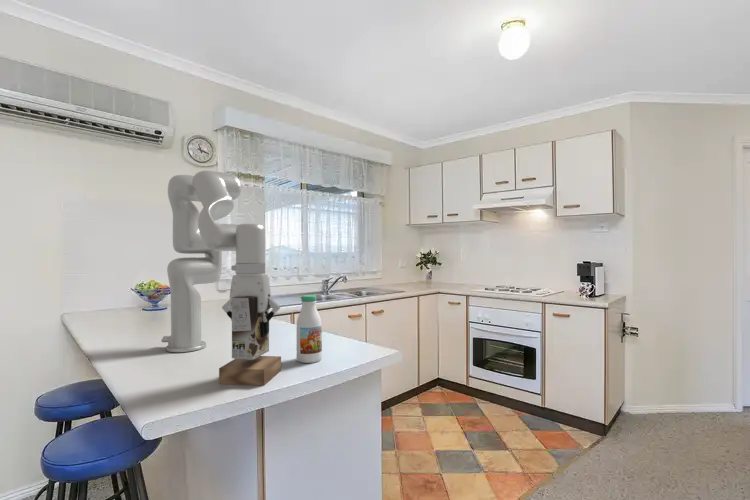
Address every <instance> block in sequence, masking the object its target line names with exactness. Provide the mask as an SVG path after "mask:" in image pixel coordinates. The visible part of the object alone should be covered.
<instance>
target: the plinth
mask: <svg viewBox="0 0 750 500" xmlns="http://www.w3.org/2000/svg"><path fill="white" fill-rule="evenodd" d="M281 371H282V356H279V355H278V356H274V355H273V356H272V355H261V356H259V357H257V358H255V359H253V360H247V359H232V360H230V361H228V362H227V363H225V364H224V365H222V366H220V367H219V368H218V376H219V377H218V382H219V383H218V384H219V385H239V386H240V385H242V386H244V385H245V386H265V385H267V384H268V383H270V381H271V380H272V379H274V378H275V376H277V375H278V374H279V373H280V372H281Z"/></svg>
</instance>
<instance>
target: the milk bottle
mask: <svg viewBox="0 0 750 500" xmlns="http://www.w3.org/2000/svg"><path fill="white" fill-rule="evenodd" d="M300 299H301V305H302V306H301V309H300V312H299V314H298V315H297V320H296V338H295V339H296V361H297V362H298V363H303V364H304V363H305V364H312V363H318V362H319V361H321V360H322V359H323V348H322V347H323V339H322V337H323V335H322V333H323V331H322V319H321V315H320V314H319V312H318V309H317V305H316V303H317V295H315V294H303V295H302V296H301V298H300Z"/></svg>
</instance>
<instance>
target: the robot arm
mask: <svg viewBox="0 0 750 500" xmlns="http://www.w3.org/2000/svg"><path fill="white" fill-rule="evenodd" d="M241 193H242V184H241V182H240V180H239V178H238V177H237V176H236V175H235V174H233V173H228V172H220V171H214V170H201V171H198V172H196V173H195V174H194V175H191V174H177V175H173V176H172V177H171V178H170V179H169V181H168V185H167V197H168V201H169V204H170V207H171V211H172V247H173V249H174V251H175V252H176V253H179V254H187V255H188V254H189V255H190V254H194V255H195V254H196V255H198V254H199V255H200V254H201V255H202V254H204V256H205V257H198V256H197V257H195V256H194V257H179V258H174V259H173V260H171V261H170V262H169V263H168V265H167V267H166V268H167V271H166V272H167V273H166V274H167V277H168V282H169V289H170V291H169V292H170V335H163V336H162V338H161V343H167V345H166V347H165V350H166V352H169V353H187V352H194V351H199V350H203V349H204V348H206V346H207V342H206V341H203V340H202V296H201V294H200V292H199V291H198V290H197V289H196V287H195V286H194V285H204V284H205V285H206V284H214V283H217V282H218V281H219V280H220V278H221V276H222V269H223V267H222V265H223V264H222V263H223V261H222V258H223V257H222V255H223V252H235V264H234V265H231V267H230V268H231V270H232V271H235V272H234V275H232V279H231V284H230V288H229V300H227V301H226V302H225V304H224V303H223V304H224V305H222V307H221V308H222V310H223V311H224V312H225V313H226V316H228V318H230V321H231V322H232V297H245V296H252V297H257V312H258V313H260V316H261V318H262V322H261V337H265V336H267V335H268V333H269V334H270V321H271V319H272V318H273V317H275V316H276V314H277V313H278V312H279V310H280V309H281V305H279V304H278V303H277V302H276V301H275V300H274V299H273V298H272V295H271V286H270V280H269V276H268V274H266V229H265V226H264V225H262V224H259V223H241V224H236V223H217V222H215V221H218V220H221V219H223V218H225V217H227V216H228V215H230V214H231V212H232V211H233V210H234V207H235V202H234V201H235V200H237V199H238V198H239V196H241ZM193 202H199V203H201V206H202V209H201V210H200V211H199V209H198V208H197V206H196V204H194V203H193ZM271 308H272V309H271ZM270 309H271V310H270ZM267 310H269V313H268V311H267Z"/></svg>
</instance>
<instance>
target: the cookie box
mask: <svg viewBox="0 0 750 500" xmlns="http://www.w3.org/2000/svg"><path fill="white" fill-rule="evenodd" d="M267 311H268V313H270V309H269V310H267ZM261 322H262V318H261V316H260V313H258V312H257V297H252V296H245V297H232V321H231V359H232V360H234V359H247V360H253V359H255V358H257V357H259V356H264V354H266V353H268V352H270V332H269V333H268V335H267V336H265V337H261Z"/></svg>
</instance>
